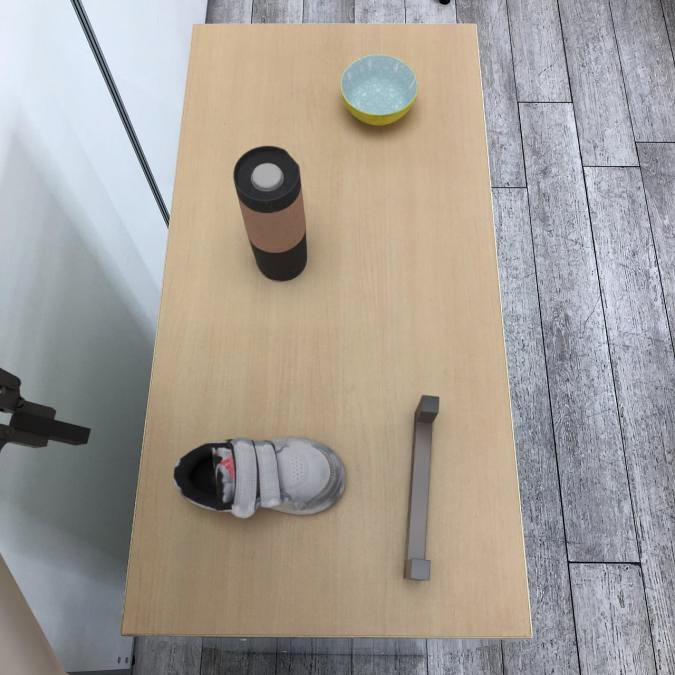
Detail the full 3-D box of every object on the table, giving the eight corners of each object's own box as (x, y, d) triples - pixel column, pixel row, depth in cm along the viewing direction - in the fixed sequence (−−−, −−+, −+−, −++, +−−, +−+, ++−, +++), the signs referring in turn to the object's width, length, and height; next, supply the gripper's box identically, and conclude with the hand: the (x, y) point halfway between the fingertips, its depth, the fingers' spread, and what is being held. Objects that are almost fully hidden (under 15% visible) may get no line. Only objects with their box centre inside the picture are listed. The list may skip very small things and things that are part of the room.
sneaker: (345, 523, 75) (346, 515, 66) (182, 525, 75) (160, 516, 66) (344, 438, 79) (345, 418, 70) (189, 439, 79) (169, 420, 70)
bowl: (396, 153, 95) (399, 125, 89) (327, 126, 97) (326, 97, 91) (425, 99, 99) (430, 69, 93) (358, 74, 100) (360, 43, 95)
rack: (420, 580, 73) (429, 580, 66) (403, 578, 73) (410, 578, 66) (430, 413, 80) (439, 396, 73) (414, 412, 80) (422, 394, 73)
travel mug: (250, 279, 87) (225, 197, 69) (260, 232, 90) (239, 140, 71) (304, 286, 87) (294, 205, 68) (313, 238, 90) (305, 148, 71)
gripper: (-194, 296, 51) (83, 379, 66) (-266, 455, 47) (50, 505, 61) (-181, 272, 46) (116, 368, 61) (-261, 448, 41) (82, 505, 56)
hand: (83, 437), depth 61 cm, fingers closed
